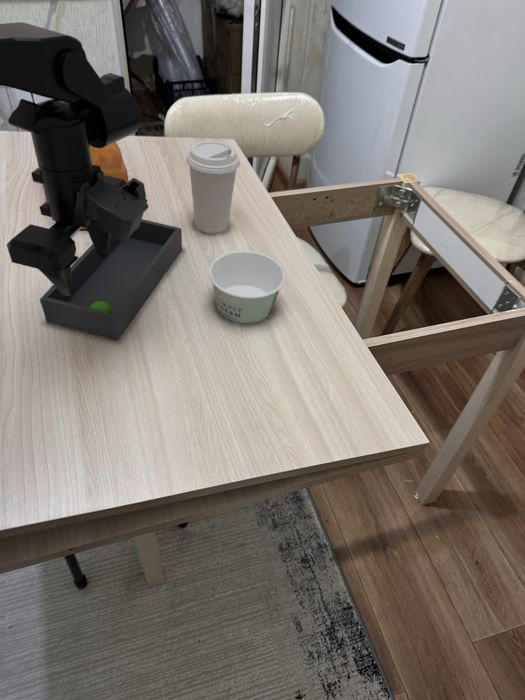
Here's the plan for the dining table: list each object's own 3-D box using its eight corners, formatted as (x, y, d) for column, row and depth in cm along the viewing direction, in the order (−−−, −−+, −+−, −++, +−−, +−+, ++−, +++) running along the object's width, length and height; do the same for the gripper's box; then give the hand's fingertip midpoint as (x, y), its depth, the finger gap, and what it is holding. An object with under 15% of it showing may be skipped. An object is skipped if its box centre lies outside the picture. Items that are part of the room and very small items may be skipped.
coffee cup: (198, 242, 91) (199, 165, 81) (179, 216, 97) (177, 141, 86) (243, 232, 95) (249, 158, 85) (223, 209, 101) (226, 136, 90)
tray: (46, 322, 73) (39, 299, 70) (123, 235, 91) (120, 214, 87) (117, 341, 72) (114, 318, 68) (182, 249, 89) (181, 228, 86)
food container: (194, 313, 77) (194, 280, 73) (228, 274, 85) (230, 242, 81) (262, 339, 75) (266, 307, 70) (291, 296, 83) (296, 265, 78)
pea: (90, 324, 74) (80, 316, 70) (98, 304, 75) (90, 294, 71) (111, 330, 73) (103, 321, 70) (119, 309, 74) (112, 300, 71)
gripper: (89, 215, 46) (109, 334, 57) (166, 144, 60) (170, 252, 70) (-15, 191, 48) (23, 312, 59) (82, 126, 61) (99, 235, 72)
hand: (86, 275), depth 65 cm, fingers open, 9 cm apart
